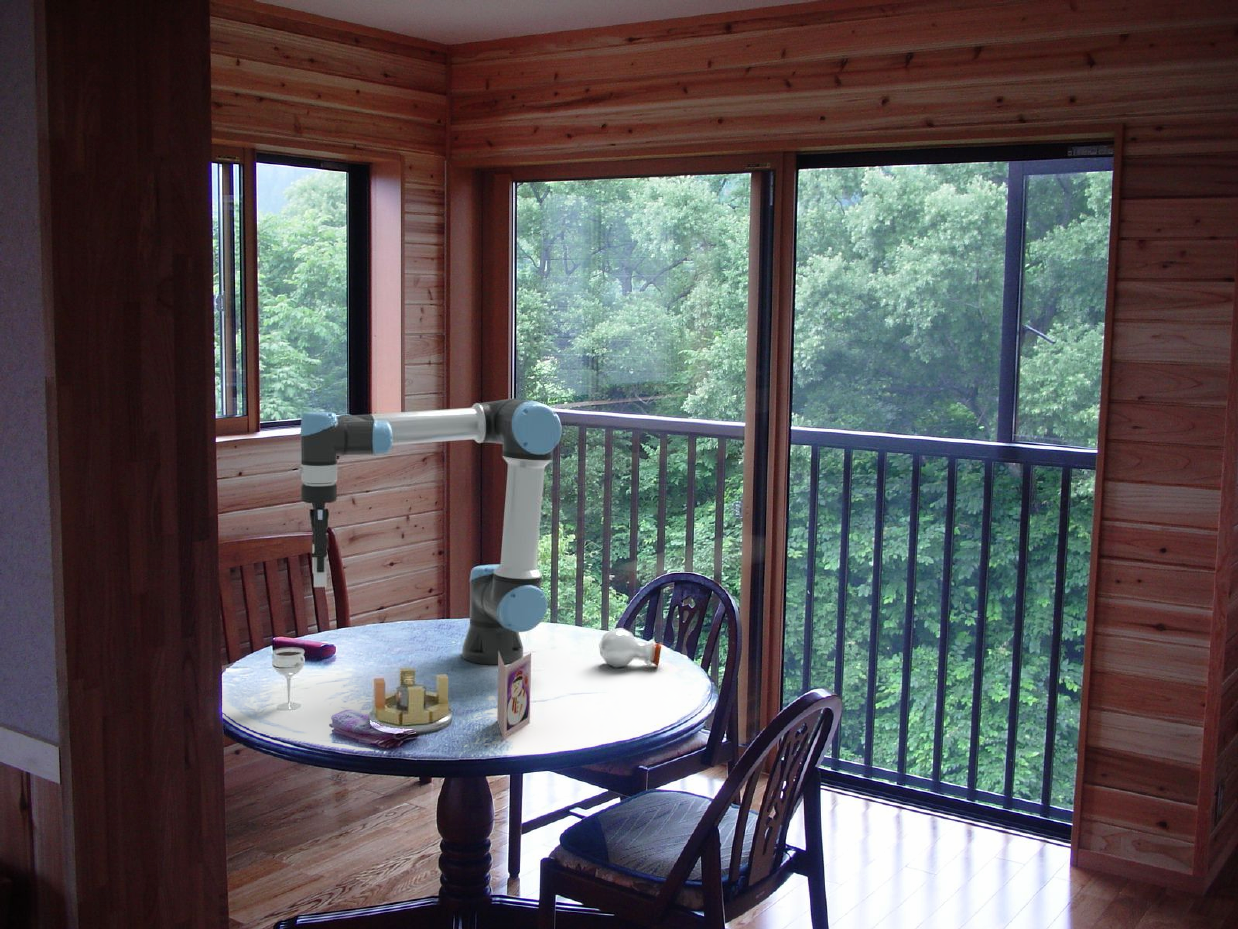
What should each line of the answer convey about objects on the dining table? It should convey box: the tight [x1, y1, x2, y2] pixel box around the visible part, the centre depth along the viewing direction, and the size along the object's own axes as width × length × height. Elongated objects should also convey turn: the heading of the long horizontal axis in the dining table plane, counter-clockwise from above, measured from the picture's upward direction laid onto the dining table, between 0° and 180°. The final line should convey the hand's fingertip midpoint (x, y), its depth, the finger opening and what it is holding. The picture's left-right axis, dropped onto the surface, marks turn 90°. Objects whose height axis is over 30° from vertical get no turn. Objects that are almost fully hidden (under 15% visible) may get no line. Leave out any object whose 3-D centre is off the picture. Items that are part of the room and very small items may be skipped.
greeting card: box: [496, 651, 532, 740], centre depth 245 cm, size 11×7×15 cm, turn 157°
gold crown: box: [372, 667, 450, 725], centre depth 248 cm, size 15×15×7 cm
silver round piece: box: [368, 683, 453, 735], centre depth 248 cm, size 17×17×7 cm
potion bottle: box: [598, 627, 662, 668], centre depth 292 cm, size 9×10×15 cm
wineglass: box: [271, 647, 306, 711], centre depth 255 cm, size 7×7×12 cm
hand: (319, 579), depth 261 cm, fingers open, 13 cm apart
